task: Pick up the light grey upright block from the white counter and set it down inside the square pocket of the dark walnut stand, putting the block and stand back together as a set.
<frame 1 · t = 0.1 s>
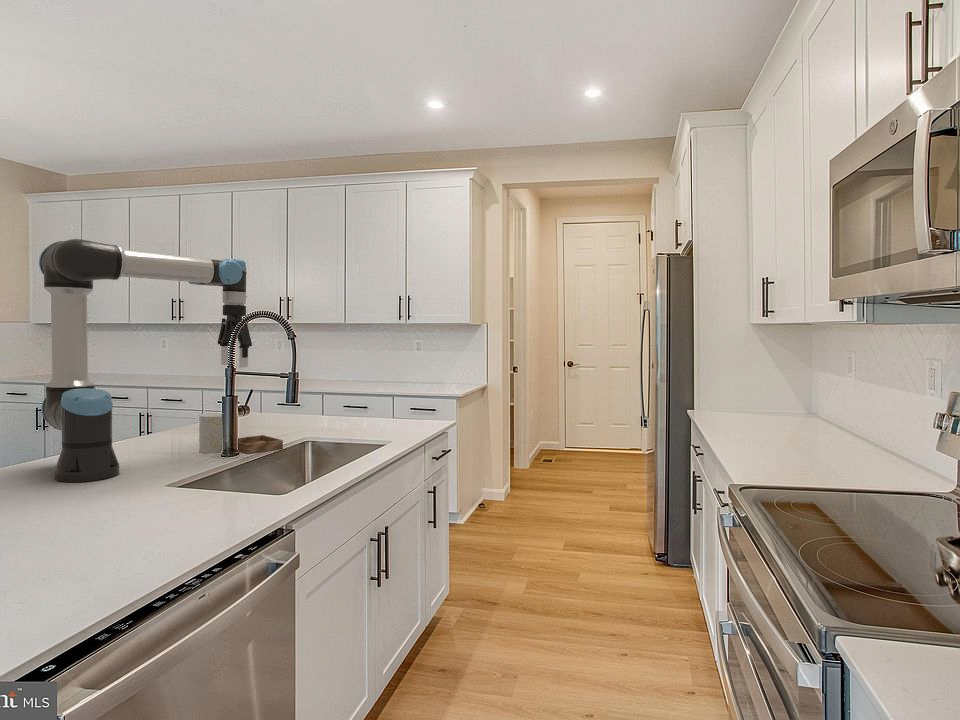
hand: (234, 366, 214), 28 cm above the table, fingers open, 13 cm apart
stand: (255, 448, 212), on the table
light grey upright block: (212, 451, 207), on the table
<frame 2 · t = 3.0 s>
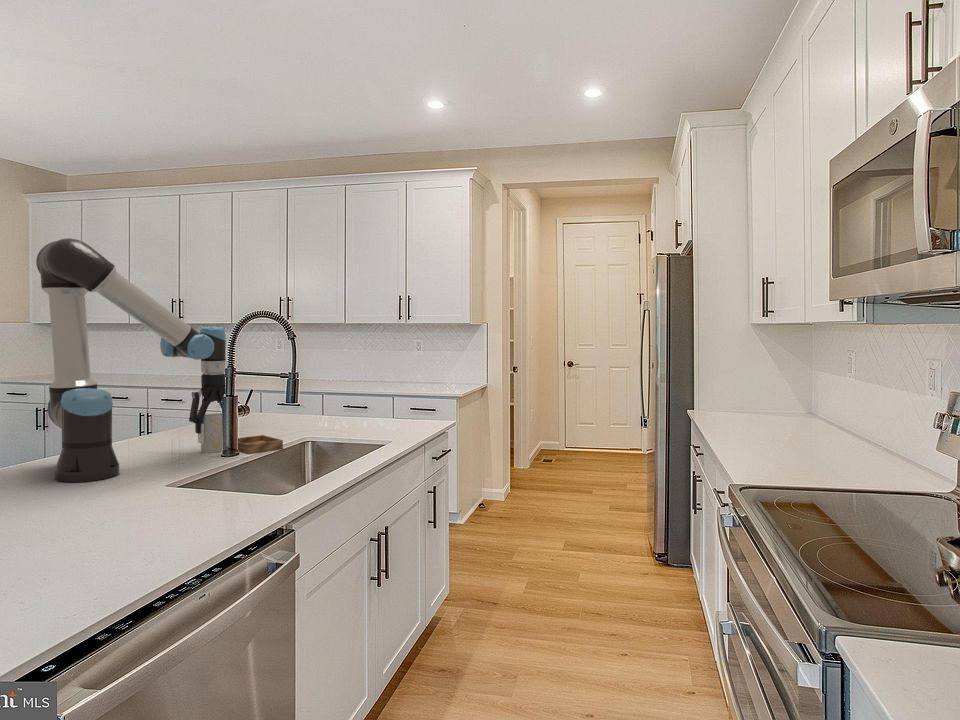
hand: (214, 441, 207), 3 cm above the table, fingers closed on light grey upright block, 8 cm apart
light grey upright block: (214, 450, 207), on the table, touching gripper
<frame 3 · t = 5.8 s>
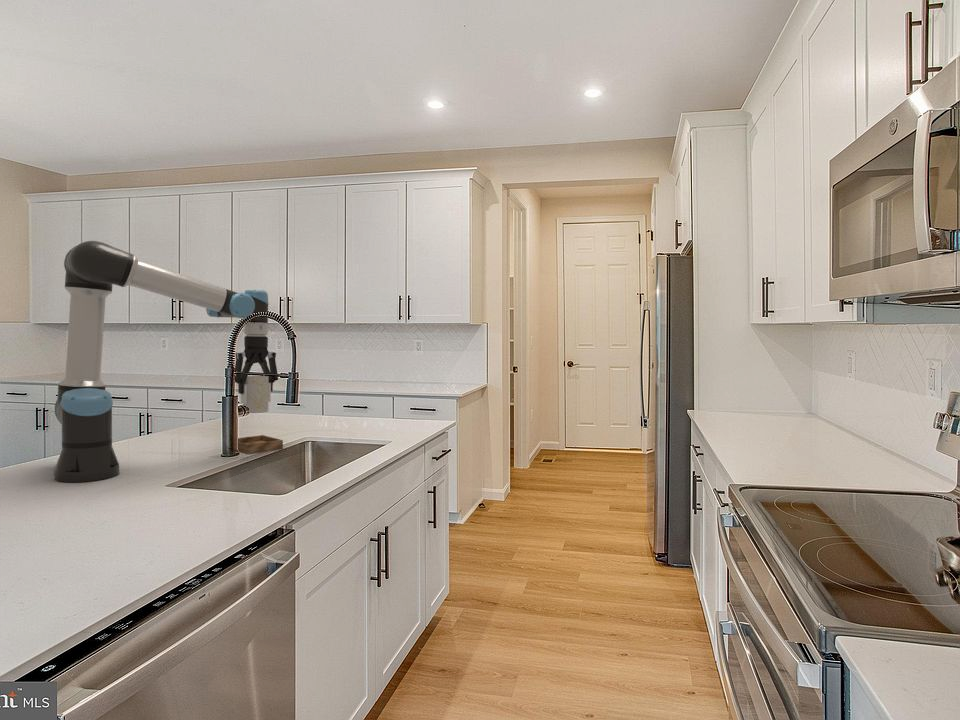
hand: (255, 402, 211), 16 cm above the table, fingers closed on light grey upright block, 8 cm apart
light grey upright block: (255, 411, 211), point 13 cm above the table, touching gripper
when the fingers open (5 cm above the table, at t = 8.4 s): light grey upright block drops 1 cm, resting on stand.
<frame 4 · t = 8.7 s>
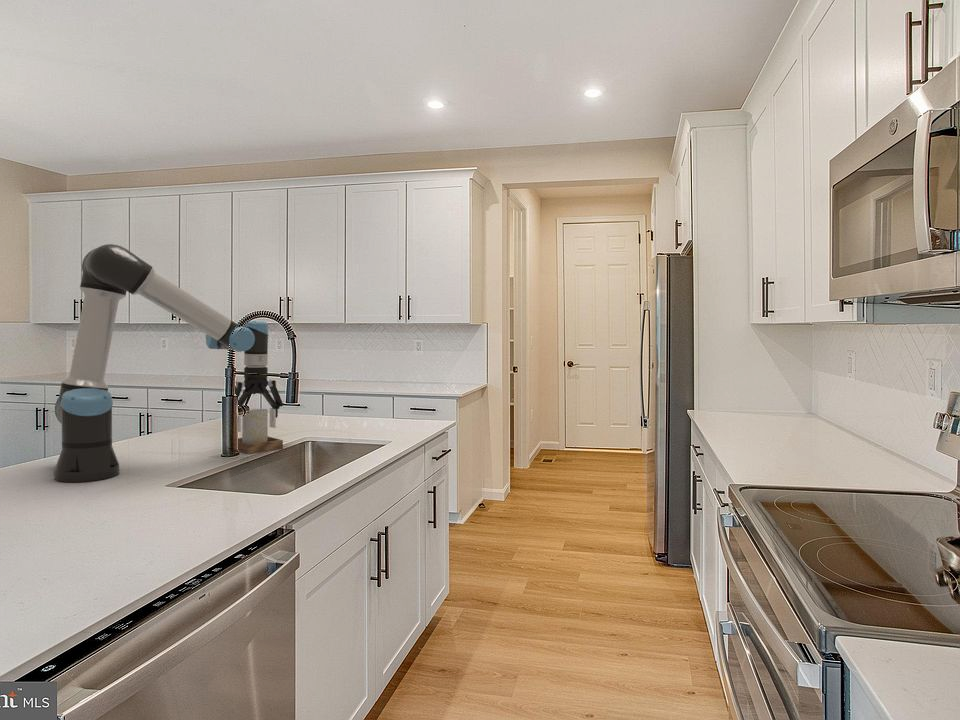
hand: (255, 429, 212), 7 cm above the table, fingers open, 12 cm apart
light grey upright block: (254, 445, 212), point 1 cm above the table, touching stand
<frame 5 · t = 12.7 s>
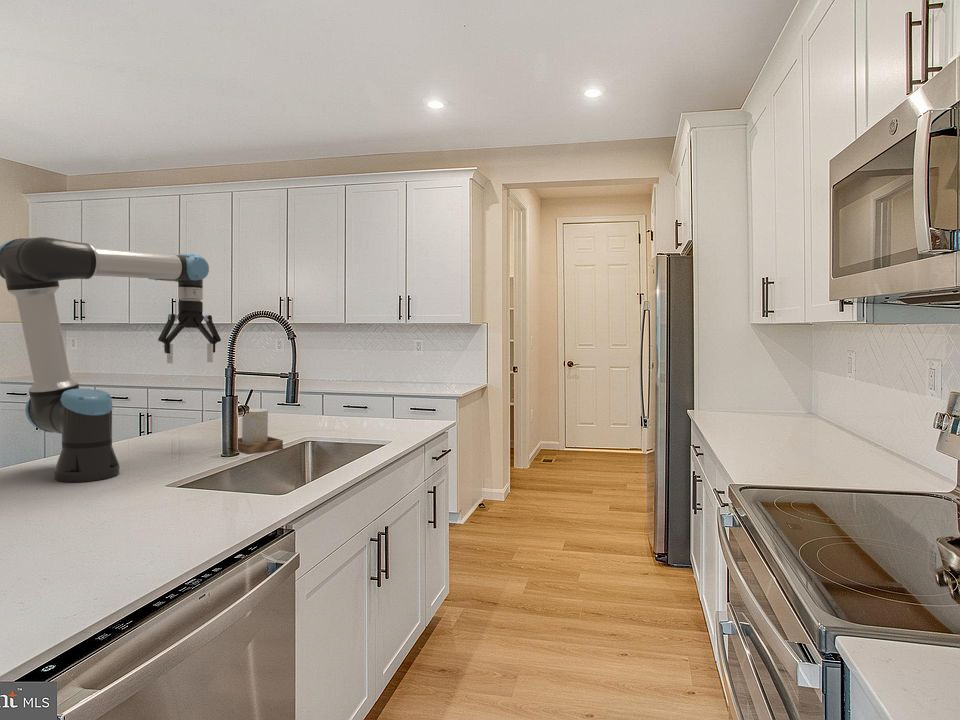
hand: (190, 362, 212), 29 cm above the table, fingers open, 13 cm apart
nothing on the table moved.
at the end: light grey upright block 0.1 cm off-centre on the stand, point 1.0 cm above the stand's base; light grey upright block tilted 0°; the gripper is holding nothing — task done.
